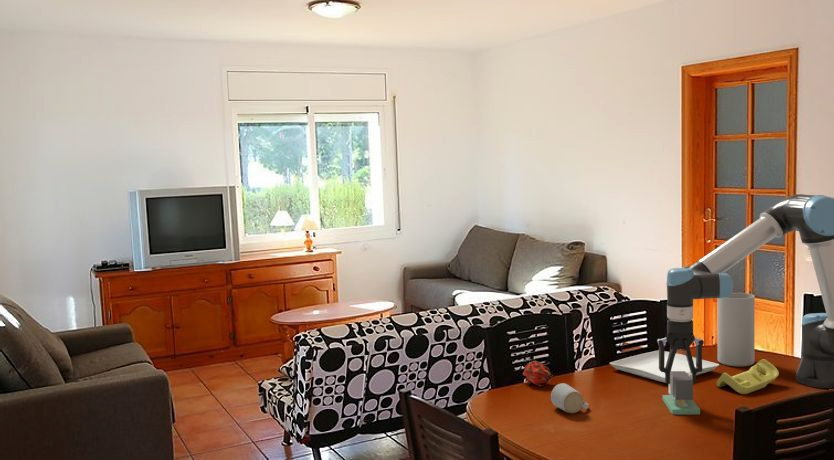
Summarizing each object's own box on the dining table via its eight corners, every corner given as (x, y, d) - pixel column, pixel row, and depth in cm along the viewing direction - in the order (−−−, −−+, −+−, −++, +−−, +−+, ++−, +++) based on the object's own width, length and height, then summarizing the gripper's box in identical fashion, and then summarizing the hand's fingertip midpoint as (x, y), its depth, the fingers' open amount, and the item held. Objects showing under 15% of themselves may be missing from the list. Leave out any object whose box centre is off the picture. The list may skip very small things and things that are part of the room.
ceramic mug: (564, 416, 230) (564, 391, 229) (550, 408, 237) (550, 384, 237) (594, 411, 234) (594, 387, 233) (579, 404, 241) (579, 380, 241)
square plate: (659, 358, 291) (659, 348, 291) (721, 374, 268) (721, 363, 268) (608, 371, 277) (608, 360, 277) (669, 388, 254) (668, 377, 254)
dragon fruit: (526, 383, 270) (550, 396, 260) (512, 373, 265) (535, 386, 255) (539, 362, 271) (562, 374, 261) (525, 352, 266) (548, 364, 257)
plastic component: (745, 389, 242) (720, 369, 249) (737, 406, 245) (713, 386, 253) (785, 374, 251) (760, 355, 258) (777, 391, 255) (753, 372, 262)
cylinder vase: (751, 368, 272) (751, 299, 269) (714, 364, 278) (714, 297, 276) (757, 360, 282) (757, 293, 280) (721, 356, 289) (721, 291, 287)
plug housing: (665, 386, 243) (665, 367, 242) (682, 386, 242) (681, 367, 242) (675, 399, 229) (675, 380, 229) (692, 399, 229) (692, 380, 228)
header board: (688, 399, 241) (688, 384, 240) (700, 414, 227) (700, 398, 226) (662, 399, 242) (662, 384, 241) (672, 414, 228) (672, 398, 227)
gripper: (652, 322, 229) (652, 397, 231) (714, 321, 227) (714, 397, 229) (647, 317, 236) (647, 390, 239) (707, 316, 234) (707, 390, 237)
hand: (680, 393), depth 234 cm, fingers closed on plug housing, 5 cm apart
